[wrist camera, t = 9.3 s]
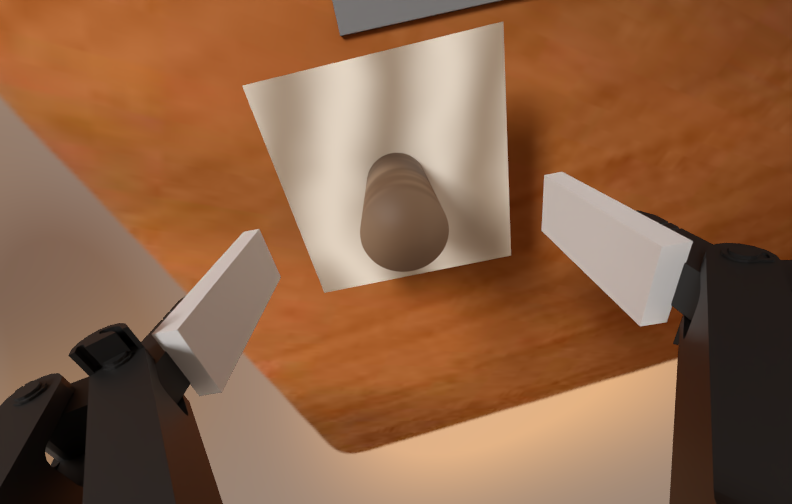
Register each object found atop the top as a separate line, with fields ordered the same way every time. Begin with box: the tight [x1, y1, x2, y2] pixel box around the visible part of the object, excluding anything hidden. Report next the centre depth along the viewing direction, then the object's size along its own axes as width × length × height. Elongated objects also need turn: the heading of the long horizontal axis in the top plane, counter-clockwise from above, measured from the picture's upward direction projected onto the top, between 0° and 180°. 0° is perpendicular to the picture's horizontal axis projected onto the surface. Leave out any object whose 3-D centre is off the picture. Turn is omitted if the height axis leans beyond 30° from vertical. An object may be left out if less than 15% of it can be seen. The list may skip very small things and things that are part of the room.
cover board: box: [243, 22, 511, 293], centre depth 18 cm, size 15×15×9 cm
